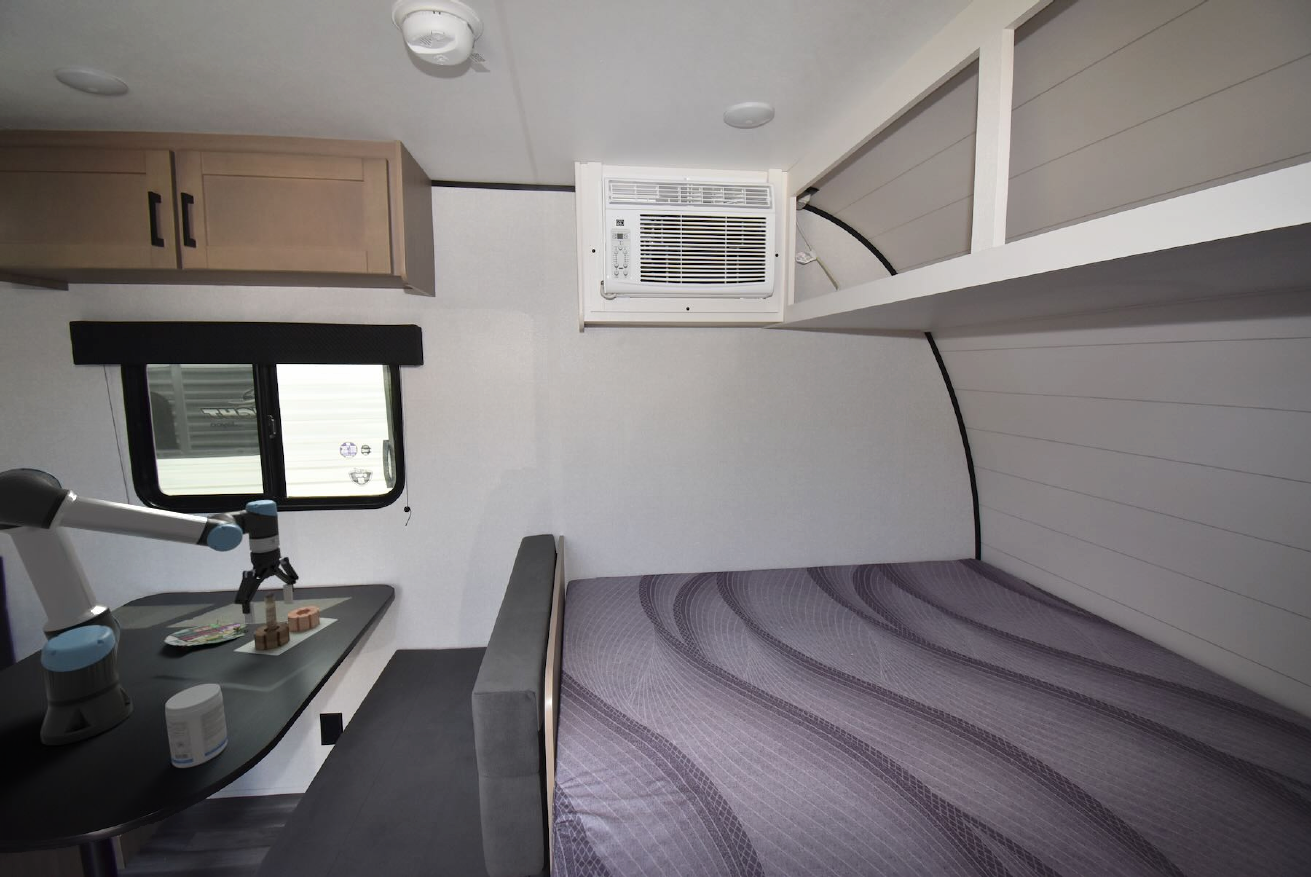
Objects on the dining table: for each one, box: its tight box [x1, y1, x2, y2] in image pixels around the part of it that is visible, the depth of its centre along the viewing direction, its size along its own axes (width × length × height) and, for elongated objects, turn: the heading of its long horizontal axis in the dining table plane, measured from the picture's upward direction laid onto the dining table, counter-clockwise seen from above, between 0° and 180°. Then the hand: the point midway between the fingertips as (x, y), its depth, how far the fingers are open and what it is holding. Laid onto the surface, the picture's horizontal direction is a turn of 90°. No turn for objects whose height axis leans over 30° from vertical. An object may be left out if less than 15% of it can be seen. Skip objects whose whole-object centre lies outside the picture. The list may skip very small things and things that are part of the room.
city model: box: [163, 620, 250, 651], centre depth 165 cm, size 25×24×6 cm
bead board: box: [233, 617, 339, 656], centre depth 165 cm, size 24×16×1 cm, turn 171°
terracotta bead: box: [287, 605, 320, 632], centre depth 171 cm, size 9×9×5 cm
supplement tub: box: [164, 683, 228, 769], centre depth 113 cm, size 10×10×15 cm
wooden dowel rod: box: [264, 591, 278, 632], centre depth 158 cm, size 3×3×17 cm
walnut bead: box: [253, 621, 290, 651], centre depth 159 cm, size 9×9×5 cm
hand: (270, 612), depth 158 cm, fingers open, 13 cm apart
